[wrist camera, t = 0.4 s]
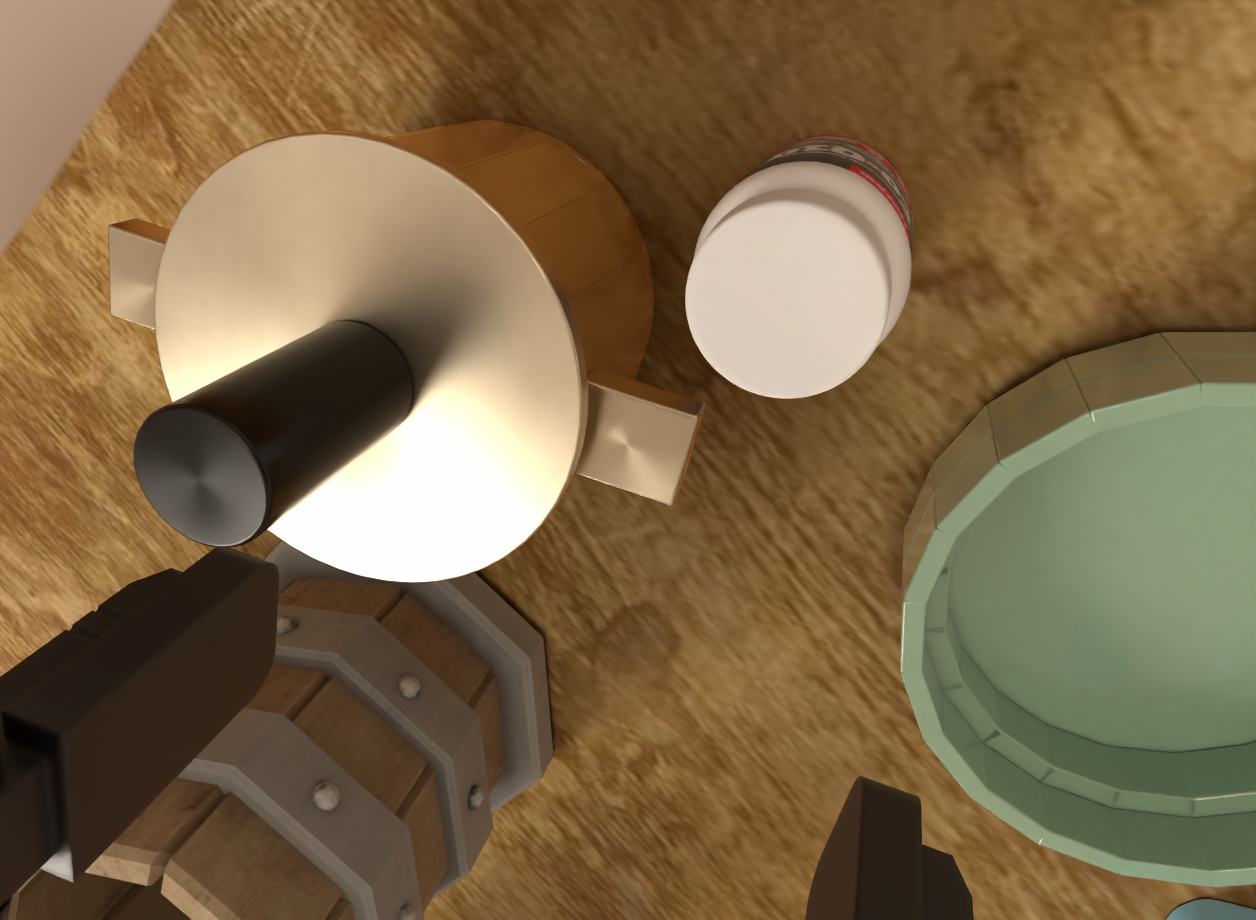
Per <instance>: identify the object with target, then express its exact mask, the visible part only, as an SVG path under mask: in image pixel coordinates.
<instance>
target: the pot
mask: <svg viewBox="0 0 1256 920" xmlns="http://www.w3.org/2000/svg"><path fill="white" fill-rule="evenodd" d="M386 138H390V139H394V140H397V141H400V142H402V143H405V144H408V145H410V146H413V147H416V148H418V149H421V150H424V151H426V152H428V153H429V154H431V155H433V156H435V157H437V158H439V159H441V160H442V161H444V162H446V163H448V164H450V165H452V166H454V167H455V168H457V169H458V170H459V171H461V172H462V173H464V174H465V175H466V176H468V177H469V178H471V179H472V180H473V181H475V182H476V183H478V184H479V185H481V186H482V187H483V188H484V189H485V190H486V191H487V192H489V193H490V194H491V195H492V196H493V197H494V198H495V199H496V200H497V201H498V202H499V203H501V204H502V205H503V206H504V207H505V208H506V209H507V210H508V211H509V212H510V213H511V214H512V216H513V217H514V218H515V219H516V220H517V221H518V222H519V224H520V225H521V226H522V227H523V228H524V229H525V231H526V232H527V233H528V234H529V235H530V236H531V238H532V239H533V241H534V242H535V244H536V245H537V247H538V248H539V250H540V251H541V253H542V254H543V256H544V257H545V259H546V260H547V261H548V263H549V264H550V266H551V268H552V270H553V272H554V274H555V276H556V278H557V280H558V282H559V284H560V286H561V287H562V289H563V291H564V293H565V295H566V298H567V301H568V303H569V306H570V309H571V311H572V314H573V317H574V319H575V322H576V325H577V328H578V332H579V336H580V340H581V344H582V348H583V353H584V357H585V365H586V374H587V383H588V416H587V424H586V430H585V437H584V443H583V448H582V451H581V454H580V457H579V460H578V464H577V467H576V470H575V473H574V474H577V475H580V476H583V477H586V478H589V479H592V480H594V481H597V482H600V483H603V484H606V485H609V486H612V487H615V488H618V489H621V490H624V491H627V492H630V493H632V494H635V495H638V496H641V497H644V498H647V499H650V500H653V501H656V502H659V503H662V504H665V505H668V506H672V505H673V504H674V503H675V501H676V499H677V497H678V495H679V492H680V490H681V488H682V485H683V481H684V478H685V475H686V471H687V468H688V465H689V461H690V458H691V454H692V451H693V448H694V444H695V441H696V437H697V434H698V431H699V427H700V424H701V421H702V417H703V414H704V410H705V404H704V403H702V402H699V401H696V400H693V399H690V398H687V397H684V396H681V395H678V394H675V393H672V392H669V391H665V390H662V389H659V388H656V387H653V386H650V385H647V384H644V383H641V382H638V381H635V380H633V379H634V378H635V376H636V375H637V372H638V370H639V367H640V363H641V361H642V359H643V357H644V354H645V351H646V348H647V345H648V342H649V339H650V334H651V329H652V323H653V317H654V284H653V274H652V269H651V264H650V259H649V255H648V251H647V248H646V245H645V242H644V240H643V237H642V234H641V231H640V229H639V227H638V225H637V223H636V221H635V219H634V217H633V215H632V213H631V211H630V209H629V208H628V206H627V205H626V203H625V201H624V200H623V198H622V197H621V195H620V194H619V192H618V191H617V190H616V189H615V187H614V186H613V185H612V184H611V183H610V181H609V180H608V179H607V178H606V177H605V175H604V174H603V173H602V172H601V171H600V170H598V169H597V168H596V167H595V166H594V165H593V164H592V163H591V162H590V161H589V160H588V159H587V158H585V157H584V156H582V155H581V154H580V153H578V152H577V151H575V150H574V149H573V148H571V147H570V146H568V145H567V144H565V143H563V142H561V141H559V140H557V139H556V138H554V137H552V136H550V135H548V134H545V133H543V132H540V131H537V130H535V129H532V128H529V127H526V126H521V125H517V124H512V123H508V122H497V121H493V120H487V119H484V120H478V121H472V122H463V123H458V124H453V125H446V126H440V127H434V128H427V129H423V130H418V131H413V132H408V133H403V134H398V135H393V136H389V137H386ZM169 232H170V229H167V228H164V227H161V226H158V225H155V224H152V223H148V222H145V221H142V220H139V219H132V220H128V221H124V222H120V223H115V224H111V225H109V227H108V239H109V283H110V314H111V315H112V316H115V317H117V318H120V319H123V320H126V321H129V322H132V323H135V324H138V325H141V326H144V327H147V328H150V329H153V330H155V317H154V303H155V287H156V279H157V274H158V269H159V264H160V259H161V255H162V252H163V249H164V246H165V243H166V240H167V237H168V235H169Z"/></svg>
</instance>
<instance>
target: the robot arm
mask: <svg viewBox="0 0 1256 920" xmlns="http://www.w3.org/2000/svg"><path fill="white" fill-rule="evenodd" d="M278 595H279V571H278V568H277V566H276V565H275V564H273V563H271V562H268V561H265V560H262V559H259V558H257V557H254V556H251V555H248V554H245V553H243V552H240V551H237V550H234V549H232V548H229V547H225V546H221V547H217V548H215V549H214V550H212V551H210V552H209V553H208V554H207V555H205V556H204V557H203V558H201V559H200V560H199V561H197V562H196V563H195V564H193V565H192V566H191V567H189V568H188V569H187V570H185V571H184V572H181V571H178V570H175V569H172V568H170V569H168V570H165V571H162V572H160V573H157V574H154V575H151V576H149V577H146V578H143V579H140V580H138V581H135V582H132V583H130V584H128V585H127V586H126V587H124V588H123V589H122V590H120V591H119V592H117V593H116V594H115V595H113V596H112V597H110V598H109V599H108V600H106V601H105V602H104V603H102V604H101V605H99V607H98V610H97V611H96V612H95V611H91V612H90V613H88V614H87V615H86V616H84V617H83V618H81V619H80V620H79V621H77V622H76V623H74V624H73V625H72V628H71V630H70V631H68V630H65V631H63V632H62V633H61V634H59V635H58V636H56V637H55V638H54V639H52V640H51V641H49V642H48V643H47V644H45V645H44V646H43V647H41V648H40V649H38V650H37V651H36V652H34V653H33V654H31V655H30V656H29V657H27V658H26V659H25V660H23V661H22V662H20V663H19V664H18V665H16V666H15V667H13V668H12V669H11V670H9V671H8V672H7V673H5V674H4V675H2V676H1V677H0V920H16V918H17V911H18V905H19V894H18V890H19V889H20V888H21V887H22V886H23V885H24V884H25V883H26V882H27V881H28V880H29V879H30V878H31V877H32V876H33V875H34V874H35V873H36V872H37V871H38V870H39V869H42V870H44V871H47V872H49V873H51V874H54V875H56V876H58V877H61V878H63V879H65V880H68V881H70V882H73V883H74V882H75V881H76V880H77V879H78V878H79V877H80V876H81V875H82V874H83V873H84V872H85V871H86V870H87V869H88V868H89V867H90V866H91V865H92V864H93V863H94V862H95V861H96V860H97V858H98V857H99V856H100V855H101V854H102V853H103V852H104V851H105V850H106V849H107V848H108V847H109V846H110V845H111V844H112V843H113V842H114V841H115V840H116V839H117V838H118V837H119V836H120V835H121V834H122V833H123V832H124V831H125V830H126V829H127V828H128V827H129V825H130V824H131V823H132V822H133V821H134V820H135V819H136V818H137V817H138V816H139V815H140V814H141V813H142V812H143V811H144V810H145V809H146V808H147V807H148V806H149V805H150V804H151V803H152V802H153V801H154V800H155V799H156V798H157V797H158V796H159V795H160V794H161V792H162V791H163V790H164V789H165V788H166V787H167V786H168V785H169V784H170V783H171V782H172V781H173V780H174V779H175V778H176V777H177V776H178V775H179V774H180V773H181V772H182V771H183V770H184V769H185V768H186V767H187V766H188V765H189V764H190V763H191V762H192V761H193V760H194V758H195V757H196V756H197V755H198V754H199V753H200V752H201V751H202V750H203V749H204V748H205V747H206V746H207V745H208V744H209V743H210V742H211V741H212V740H213V739H214V738H215V737H216V736H217V735H218V734H219V733H220V732H221V731H222V730H223V729H224V728H225V727H226V725H227V724H228V723H229V722H230V721H231V720H232V719H233V718H234V717H235V716H236V715H237V714H238V713H239V712H240V711H241V710H242V709H243V708H244V707H245V706H246V705H247V704H248V703H249V702H250V701H251V700H252V699H253V698H254V696H255V695H256V694H257V693H258V692H259V690H260V689H261V687H262V686H263V684H264V682H265V681H266V679H267V677H268V675H269V672H270V670H271V667H272V665H273V661H274V657H275V651H276V634H277V614H278ZM805 920H974V919H973V904H972V896H971V894H970V892H969V890H968V888H967V886H966V884H965V881H964V879H963V877H962V875H961V873H960V871H959V869H958V867H957V865H956V862H955V860H954V858H953V856H952V855H949V854H947V853H944V852H941V851H938V850H936V849H933V848H930V847H927V846H925V845H922V826H921V802H920V799H919V797H918V796H915V795H912V794H910V793H907V792H904V791H901V790H898V789H896V788H893V787H890V786H887V785H884V784H882V783H879V782H876V781H873V780H870V779H868V778H865V777H862V776H859V777H858V778H857V779H856V781H855V782H854V784H853V786H852V788H851V791H850V793H849V795H848V797H847V799H846V802H845V804H844V806H843V808H842V811H841V813H840V815H839V817H838V819H837V822H836V824H835V826H834V828H833V830H832V833H831V835H830V837H829V839H828V842H827V844H826V846H825V848H824V850H823V853H822V855H821V857H820V860H819V862H818V865H817V868H816V871H815V874H814V878H813V881H812V885H811V889H810V894H809V898H808V904H807V911H806V919H805Z"/></svg>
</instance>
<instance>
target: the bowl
mask: <svg viewBox="0 0 1256 920" xmlns="http://www.w3.org/2000/svg"><path fill="white" fill-rule="evenodd" d="M900 675H901V678H902V680H903V683H904V686H905V689H906V692H907V695H908V698H909V700H910V703H911V706H912V709H913V712H914V715H915V717H916V720H917V723H918V726H919V729H920V732H921V735H922V737H923V739H924V741H925V743H926V744H927V745H928V746H929V747H930V749H931V750H932V751H933V752H934V754H935V755H936V756H937V757H938V759H939V760H940V761H941V762H942V764H943V765H944V766H945V767H946V769H947V770H948V771H949V772H950V773H951V775H952V776H953V777H954V778H955V780H956V781H957V782H958V783H959V785H960V786H961V787H962V788H963V790H964V791H965V792H966V793H967V795H968V796H969V797H970V798H972V799H973V800H974V801H976V802H977V803H979V804H980V805H981V806H983V807H984V808H986V809H987V810H989V811H990V812H992V813H993V814H995V815H996V816H997V817H999V818H1000V819H1002V820H1003V821H1005V822H1006V823H1008V824H1009V825H1011V826H1012V827H1013V828H1015V829H1016V830H1018V831H1019V832H1021V833H1022V834H1024V835H1025V836H1027V837H1028V838H1029V839H1031V840H1032V841H1034V842H1035V843H1038V844H1039V845H1041V846H1044V847H1047V848H1049V849H1052V850H1055V851H1057V852H1060V853H1063V854H1065V855H1068V856H1071V857H1073V858H1076V859H1079V860H1082V861H1084V862H1087V863H1090V864H1092V865H1095V866H1098V867H1100V868H1103V869H1106V870H1108V871H1111V872H1114V873H1116V874H1120V875H1125V876H1132V877H1139V878H1147V879H1154V880H1161V881H1168V882H1176V883H1183V884H1190V885H1198V886H1205V887H1211V886H1212V887H1225V886H1238V885H1252V884H1256V332H1162V333H1161V334H1159V333H1156V334H1152V335H1149V336H1145V337H1141V338H1138V339H1134V340H1130V341H1127V342H1123V343H1119V344H1116V345H1112V346H1108V347H1105V348H1101V349H1097V350H1094V351H1090V352H1086V353H1083V354H1079V355H1075V356H1072V357H1068V358H1067V359H1062V360H1061V361H1059V362H1057V363H1056V364H1054V365H1052V366H1050V367H1049V368H1047V369H1045V370H1044V371H1042V372H1040V373H1039V374H1037V375H1035V376H1034V377H1032V378H1030V379H1029V380H1027V381H1025V382H1024V383H1022V384H1020V385H1019V386H1017V387H1015V388H1014V389H1012V390H1010V391H1008V392H1007V393H1005V394H1003V395H1002V396H1000V397H998V398H997V399H995V400H993V401H992V402H990V403H988V406H987V405H986V406H985V407H984V408H983V409H982V410H981V411H980V412H979V413H978V415H977V416H976V417H975V418H974V419H973V420H972V421H971V422H970V423H969V424H968V426H967V427H966V428H965V429H964V430H963V431H962V432H961V433H960V434H959V435H958V437H957V438H956V439H955V440H954V441H953V442H952V443H951V444H950V445H949V446H948V448H947V449H946V450H945V451H944V452H943V453H942V454H941V455H940V456H939V457H938V458H937V460H936V461H935V462H934V463H933V465H932V466H931V468H930V470H929V473H928V475H927V477H926V480H925V482H924V484H923V487H922V489H921V491H920V494H919V496H918V498H917V501H916V503H915V505H914V508H913V510H912V512H911V515H910V517H909V519H908V521H907V524H906V526H905V528H904V533H903V557H902V581H901V622H900Z"/></svg>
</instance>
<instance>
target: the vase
mask: <svg viewBox="0 0 1256 920" xmlns="http://www.w3.org/2000/svg"><path fill="white" fill-rule="evenodd" d="M1166 920H1256V910H1255V909H1251V908H1247V907H1243V906H1240V905H1236V904H1232V903H1227V902H1223V901H1218V900H1212V899H1199V900H1195V901H1192V902H1189V903H1186V904H1184V905H1181V906H1179V907H1177V908H1176V909H1175V910H1174V911H1172V913H1171V914H1170V915H1169V916H1168V918H1167V919H1166Z"/></svg>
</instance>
